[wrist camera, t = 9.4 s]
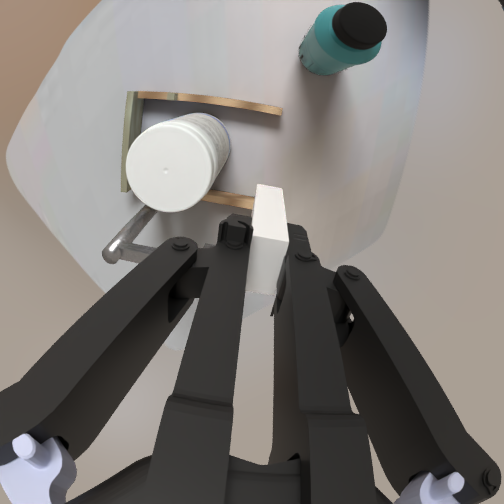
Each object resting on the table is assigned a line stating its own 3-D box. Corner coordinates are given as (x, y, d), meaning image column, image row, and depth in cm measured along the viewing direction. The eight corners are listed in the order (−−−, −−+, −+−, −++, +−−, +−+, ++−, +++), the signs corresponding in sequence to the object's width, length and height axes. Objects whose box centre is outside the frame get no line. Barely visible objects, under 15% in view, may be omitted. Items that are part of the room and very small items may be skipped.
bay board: (281, 108, 35) (283, 108, 32) (260, 204, 43) (259, 215, 39) (139, 91, 34) (127, 91, 31) (131, 183, 42) (120, 191, 38)
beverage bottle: (349, 69, 31) (418, 51, 14) (307, 83, 33) (346, 70, 16) (329, 30, 29) (381, -18, 11) (287, 44, 30) (306, -4, 13)
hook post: (230, 202, 43) (209, 268, 27) (228, 214, 44) (208, 284, 28) (156, 190, 42) (101, 246, 27) (156, 201, 43) (102, 262, 28)
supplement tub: (185, 101, 35) (144, 105, 22) (244, 131, 37) (232, 148, 25) (158, 158, 40) (112, 190, 27) (212, 186, 42) (188, 229, 29)
